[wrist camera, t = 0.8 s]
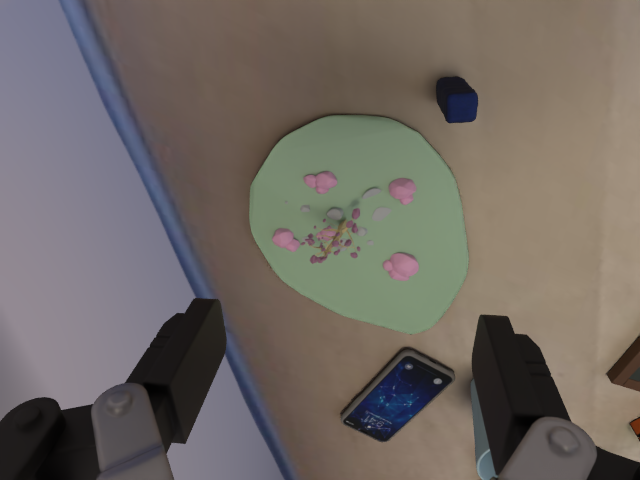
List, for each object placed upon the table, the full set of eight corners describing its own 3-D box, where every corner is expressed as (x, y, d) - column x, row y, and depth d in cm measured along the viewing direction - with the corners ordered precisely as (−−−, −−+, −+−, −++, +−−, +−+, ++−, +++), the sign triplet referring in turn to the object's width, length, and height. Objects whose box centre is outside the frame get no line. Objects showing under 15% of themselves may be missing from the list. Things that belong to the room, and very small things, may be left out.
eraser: (436, 76, 36) (446, 93, 30) (464, 75, 36) (480, 92, 30) (434, 103, 37) (443, 125, 32) (461, 102, 37) (476, 124, 31)
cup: (545, 383, 51) (580, 468, 42) (494, 417, 54) (516, 502, 45) (496, 349, 49) (521, 430, 40) (447, 386, 53) (460, 468, 44)
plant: (537, 250, 43) (572, 308, 35) (382, 357, 52) (381, 422, 44) (348, 60, 37) (339, 79, 29) (209, 219, 46) (173, 266, 38)
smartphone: (460, 378, 51) (385, 446, 58) (458, 371, 51) (385, 439, 58) (405, 350, 49) (336, 422, 56) (405, 344, 50) (337, 416, 57)
